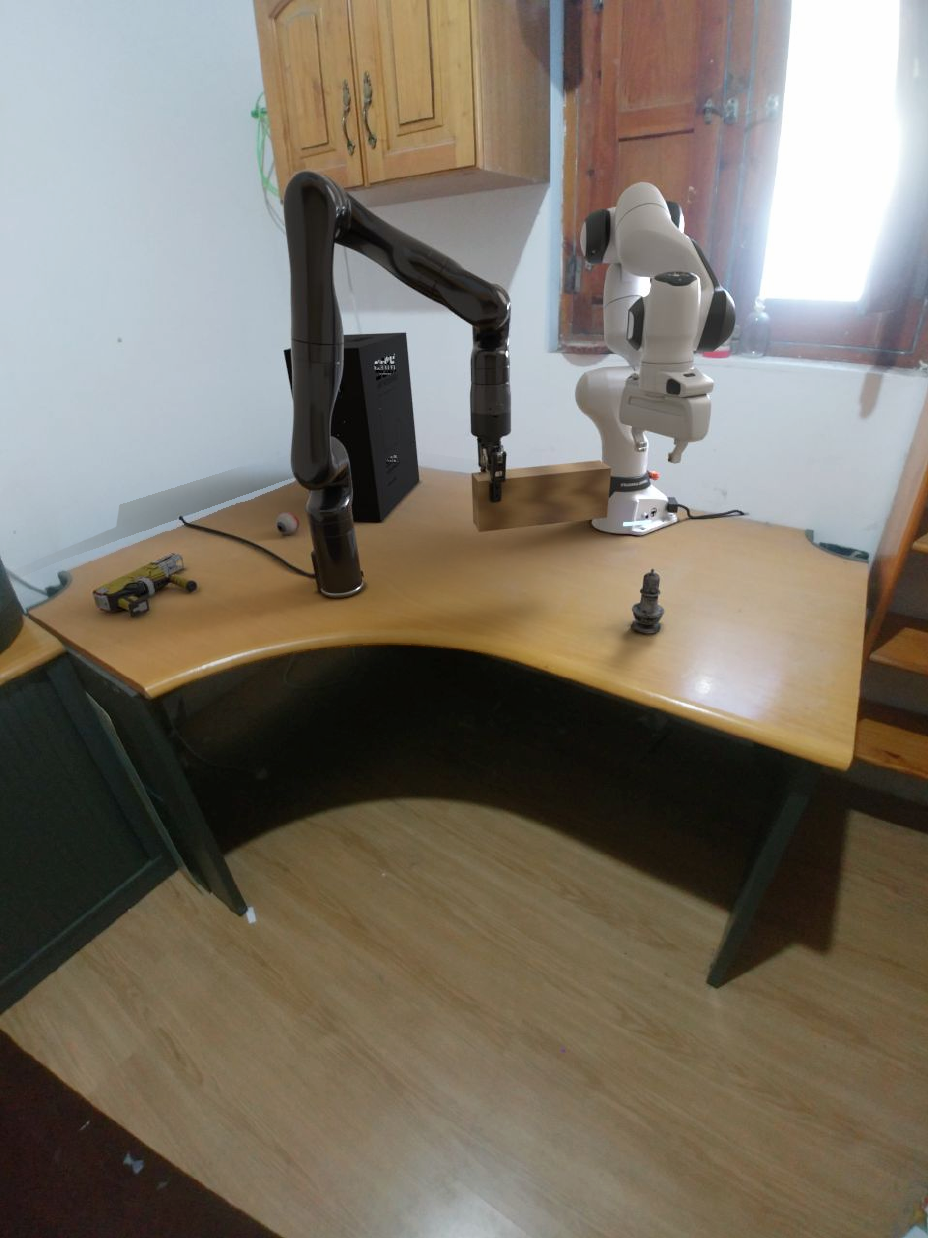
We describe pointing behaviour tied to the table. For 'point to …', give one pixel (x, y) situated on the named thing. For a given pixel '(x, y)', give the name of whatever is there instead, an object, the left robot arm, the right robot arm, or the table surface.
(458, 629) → the table surface
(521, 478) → the box
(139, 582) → the toy gun
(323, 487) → the left robot arm
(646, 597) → the grey chess piece
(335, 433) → the cardboard box
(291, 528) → the eyeball
